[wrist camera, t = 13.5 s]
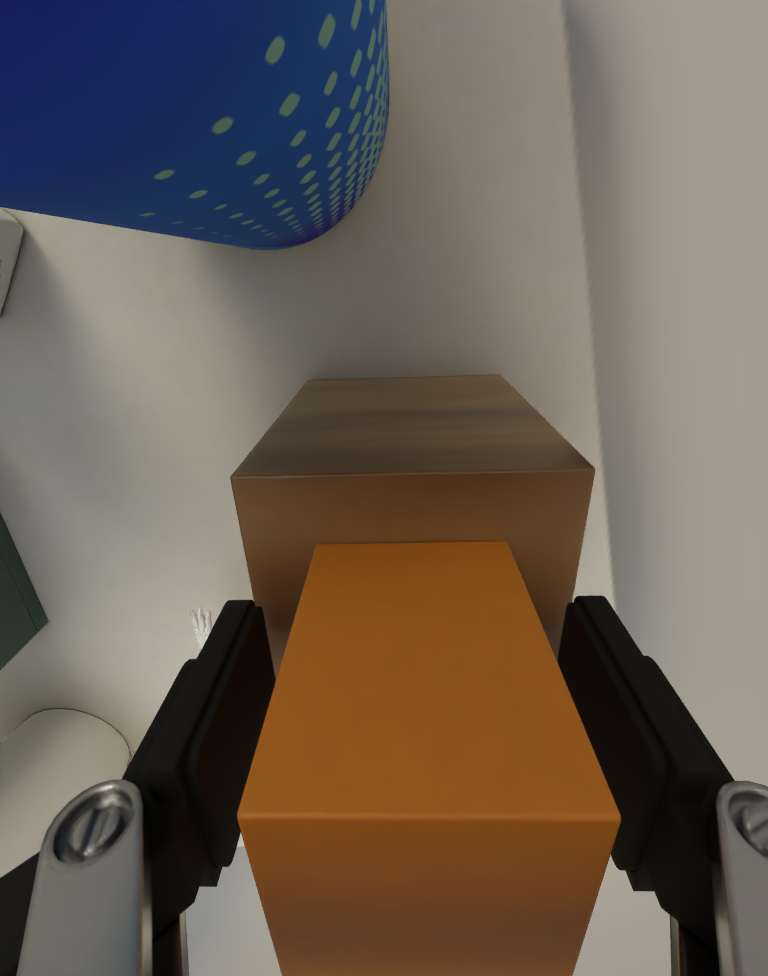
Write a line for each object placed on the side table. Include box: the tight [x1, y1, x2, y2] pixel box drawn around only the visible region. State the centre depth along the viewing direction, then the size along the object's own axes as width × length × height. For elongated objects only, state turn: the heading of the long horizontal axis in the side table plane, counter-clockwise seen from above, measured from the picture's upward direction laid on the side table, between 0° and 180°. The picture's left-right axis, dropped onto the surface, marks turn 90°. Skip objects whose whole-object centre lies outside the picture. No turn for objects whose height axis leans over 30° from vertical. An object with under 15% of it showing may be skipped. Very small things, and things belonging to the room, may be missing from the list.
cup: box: [0, 709, 130, 878], centre depth 24 cm, size 12×12×12 cm
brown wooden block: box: [230, 375, 595, 679], centre depth 16 cm, size 8×8×10 cm
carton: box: [237, 541, 621, 976], centre depth 9 cm, size 4×4×6 cm
